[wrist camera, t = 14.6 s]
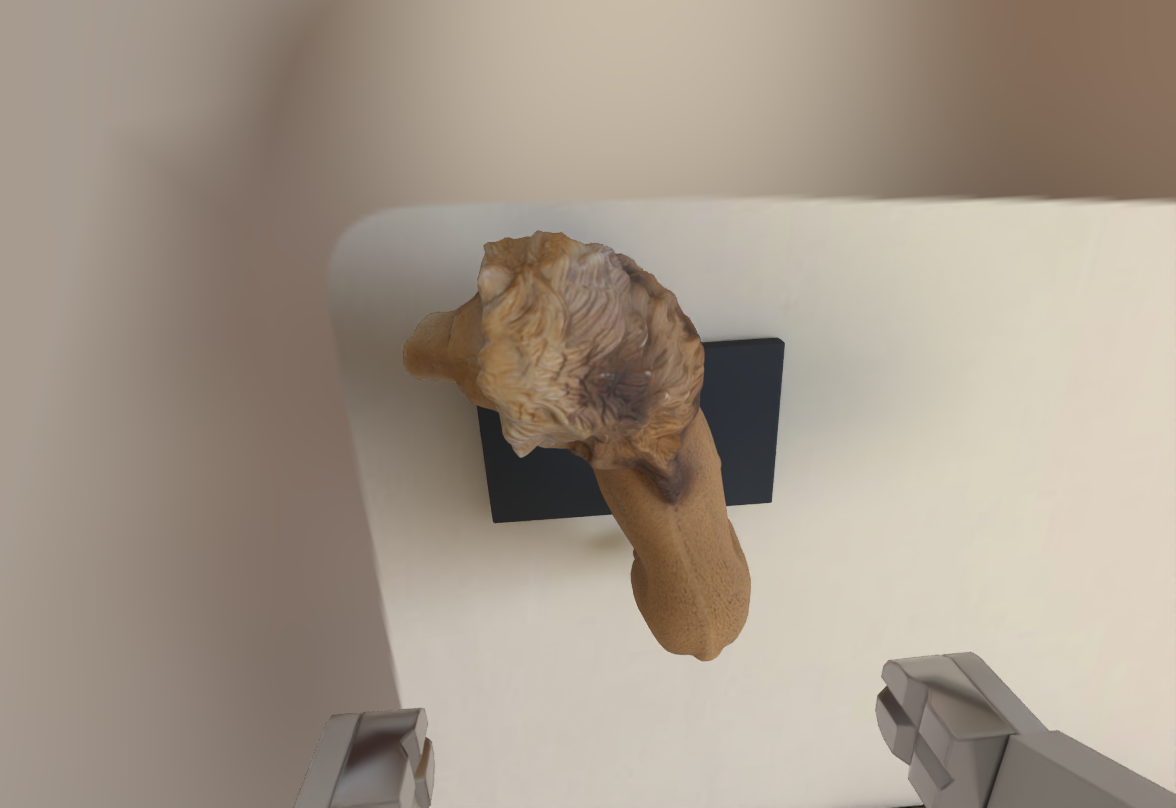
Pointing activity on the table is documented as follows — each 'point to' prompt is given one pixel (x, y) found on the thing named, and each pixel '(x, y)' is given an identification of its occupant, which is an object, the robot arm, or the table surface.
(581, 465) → the mat
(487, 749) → the table surface
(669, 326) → the lion figurine
